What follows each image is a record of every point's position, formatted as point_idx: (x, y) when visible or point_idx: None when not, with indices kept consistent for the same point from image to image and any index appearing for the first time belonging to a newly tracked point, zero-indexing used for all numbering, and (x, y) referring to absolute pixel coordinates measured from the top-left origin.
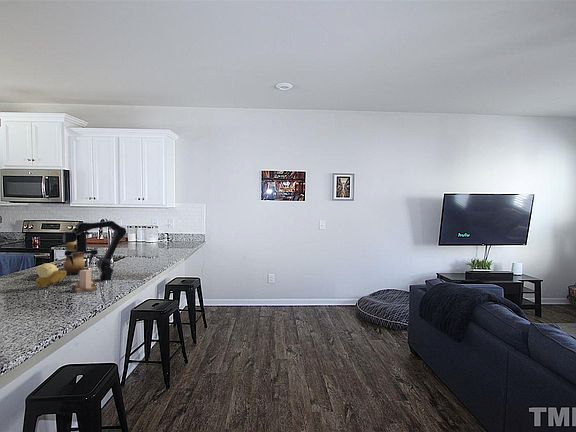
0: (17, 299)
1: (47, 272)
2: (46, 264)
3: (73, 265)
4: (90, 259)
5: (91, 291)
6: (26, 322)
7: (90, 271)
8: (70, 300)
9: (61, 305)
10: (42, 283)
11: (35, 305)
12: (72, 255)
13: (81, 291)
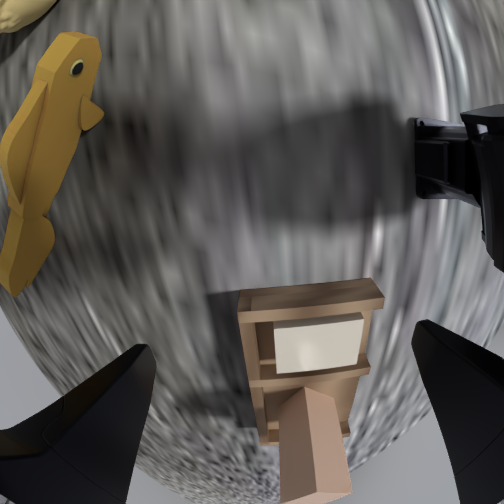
0: None
1: (7, 24)
2: None
3: (154, 371)
4: (456, 444)
5: None
6: (205, 498)
7: (345, 487)
8: (255, 458)
9: (239, 474)
10: (35, 260)
11: (170, 459)
12: (27, 499)
13: None
